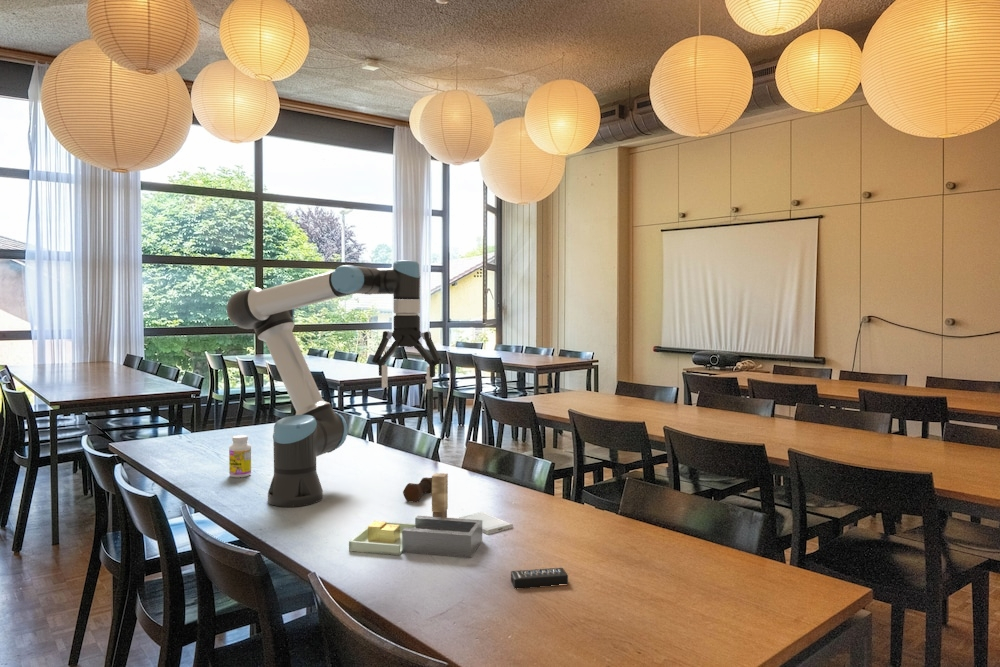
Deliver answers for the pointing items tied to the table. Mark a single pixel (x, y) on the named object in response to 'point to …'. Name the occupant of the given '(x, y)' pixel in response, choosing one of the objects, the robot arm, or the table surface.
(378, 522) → the light wood block
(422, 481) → the bolt
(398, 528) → the tan wooden block
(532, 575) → the multiport hub
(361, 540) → the tray
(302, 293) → the robot arm
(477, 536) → the gray open box
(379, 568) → the table surface
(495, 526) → the hard drive
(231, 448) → the supplement bottle
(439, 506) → the tan wooden pedestal block
